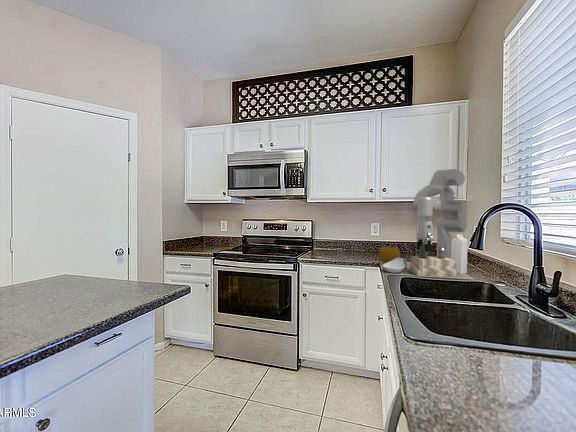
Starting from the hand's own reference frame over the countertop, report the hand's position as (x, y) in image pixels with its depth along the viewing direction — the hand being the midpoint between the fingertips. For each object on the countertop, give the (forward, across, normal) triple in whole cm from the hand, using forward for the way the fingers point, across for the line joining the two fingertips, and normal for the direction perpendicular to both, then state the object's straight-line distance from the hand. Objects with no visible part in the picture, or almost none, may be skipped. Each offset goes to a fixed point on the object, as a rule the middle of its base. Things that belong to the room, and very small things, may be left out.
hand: (424, 250), depth 166 cm
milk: (+14, +6, -23) cm, 27 cm away
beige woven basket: (+13, 0, -5) cm, 14 cm away
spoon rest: (+14, +9, +12) cm, 20 cm away
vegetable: (+13, 0, 0) cm, 13 cm away
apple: (+14, +31, +8) cm, 35 cm away
